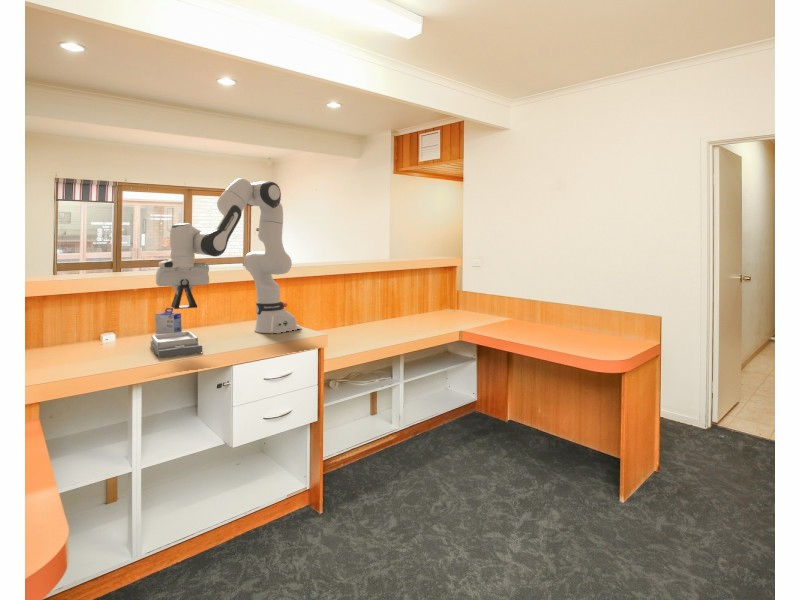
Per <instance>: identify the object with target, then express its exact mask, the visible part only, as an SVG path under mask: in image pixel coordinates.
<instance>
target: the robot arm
mask: <svg viewBox="0 0 800 600" xmlns="http://www.w3.org/2000/svg"><path fill="white" fill-rule="evenodd" d="M281 196H282V193H281V189H280V186H279V185H278V184H277V183H276V182H273V181H268V180H266V181H256V182H250V181H249V180H247V179H245V178H242V177H241V178H237V179H235V180H234V181H233V182H231V183H230V184H229V185H228V186H227V187H226V188H225V190H223V192H222V193H221V195H220V196H219V197H218V199H217V202H216V206H217V209H218V211H219V212H220V213H221V214H222V216H223V217H222V219H221V220H220V222H219V224H218V226H216V228H215V229H214V230H212V231H211V230H210V231H202V230H199V229H197V228H196V227H194V226H193V225H192V224H191V223H189V222H183V223H176V224H175V223H174V224H172V225H171V227H170V230H169V231H170V232H169V246H170V249H171V251H170V258H168V259H165V260H162V261H159V262H158V268H157V270H156V274H155V284H156V285H157V286H158V287H172V288H173V290H174V292H175V293H176V294H178V290H177V288H178V286H181V283H180V282H181V280H182V279H184V280H183V281H182V285H187V283H188V282H187V280H188V281H189V288H190V290H191V292H192V291H193V289H194V286H198V285H199V286H201V285H203V286H204V285H206V286H207V285H208V284H209V283H210V275H209V272H210V266H209V265H208V263H206V262H195V254H196V255H203V256H211V257H219V256H221V255H223V253H225V252H226V249H227V246H228V242H229V240H230V238H231V236H232V234H233V232H234V231H235V229H236V227H237V225H238V224H239V222H240V219H241V218H242V213H243V211H244V209H245V208H246V207H247V206H249V207H259V210H260V216H259V223H258V233H257V236H258V239H259V241H260V242H261V243H263V245H264V250H255V251H251V252H247V254H246V255H244V258H243V265H244V268H245V269H246V271H248V272H249V274H250V275H251V277H252V279H253V282H254V285H255V289H256V302H255V304H256V305H255V313H256V322H255V327H254V332H256V333H258V334H259V333H261V334H273V333H277V334H282V333H281V332H283V333H287V332H286V331H289V332H293V331H292V330H294V331H298V330H297V329H300V330H302V326H301V325H299V324H298V323H297V319H296V317H295V315H293V314H292V312H289V311H288V310H287V309H285V308H287V307H288V303H287V302H283V301H281V287H280V285H279V283H277V282H276V281H275V279H274V278H273V275H277V276H278V275H285V274H287V273H289V272H290V270H291V268H292V263H293V262H292V259H291V257H290V255H289V254H288V253H287V252H286V250H285V248H284V245H283V226H284V209H283V205H282V203H281V200H282V199H281V198H282V197H281ZM185 279H187V280H185ZM185 295H186V297H187V296H188V293H187V292H186V293H185Z"/></svg>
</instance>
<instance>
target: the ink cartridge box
mask: <svg viewBox="0 0 800 600" xmlns="http://www.w3.org/2000/svg"><path fill="white" fill-rule="evenodd" d="M173 311H174V308H172V307H166V308H165V310H164V312H159V313H155V314H154V323H155V324H154V325H155V335H158V334H168V333H177V332H183V330H182V313H179V312H173Z"/></svg>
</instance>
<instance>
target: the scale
mask: <svg viewBox="0 0 800 600" xmlns="http://www.w3.org/2000/svg"><path fill="white" fill-rule="evenodd" d="M150 349H152V351H153V352H154V354H155V355H156V356H157V357H158V359H166V358H173V357H180V356H188V355H195V353H196V354H202V353H203V345H202V344H201V343H200V342H199V339H198V337H197V336H196V335H195V334H194V333H193V332H192V331H190V330H187V331H182V332H177V333H168V334H158V335H156V334H152V335H151V340H150ZM201 352H202V353H201Z"/></svg>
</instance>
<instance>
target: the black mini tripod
mask: <svg viewBox="0 0 800 600" xmlns="http://www.w3.org/2000/svg"><path fill="white" fill-rule="evenodd" d="M183 280H184V279H182V280H181V282H180V283H181V286H178V288H176V289H177V290H178V294H176V292H175V293H174V297H173V299H172V303H171V305H170V308H173V310H174V309H175V310H179V309H182V310H183V309H195V308H196V309H197V308H198V305H197V303H196V300H195V297H194V296H193V295H194V294H193V293H192V291H191V290H190V287H189V281H188V280H187V279H185V280H187V282H188V283H187V285H182V281H183ZM186 292H187V293H188V296H186V299H187V302H188V305H187V304H185V305H184V304H183V305H180V304H181V301H182V297H183V293H185V294H186Z"/></svg>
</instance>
